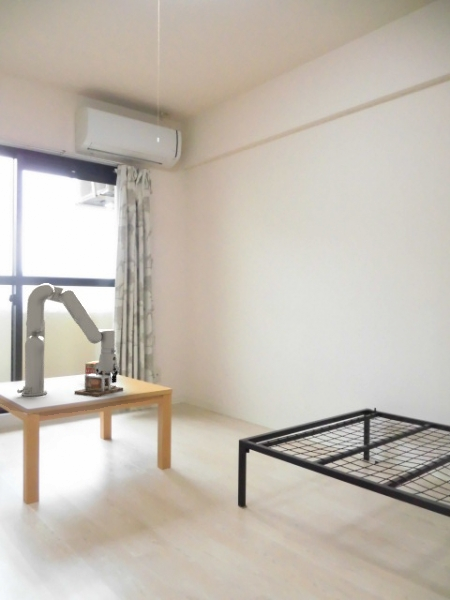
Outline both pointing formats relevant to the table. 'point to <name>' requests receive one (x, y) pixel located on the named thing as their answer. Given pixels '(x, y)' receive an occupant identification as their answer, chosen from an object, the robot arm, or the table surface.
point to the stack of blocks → (92, 368)
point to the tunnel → (91, 376)
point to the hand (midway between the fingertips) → (107, 381)
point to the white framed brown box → (99, 384)
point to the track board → (98, 392)
